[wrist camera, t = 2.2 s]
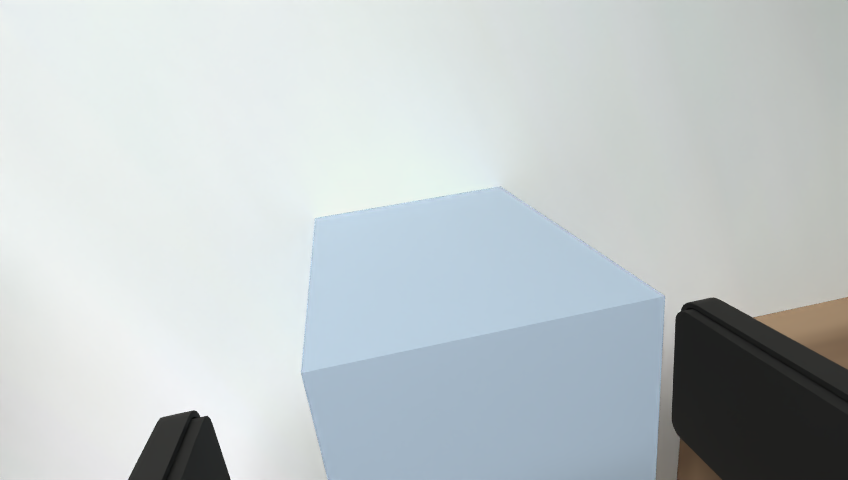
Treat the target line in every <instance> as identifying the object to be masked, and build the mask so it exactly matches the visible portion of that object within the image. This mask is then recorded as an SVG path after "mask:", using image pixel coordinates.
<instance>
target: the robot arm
mask: <svg viewBox="0 0 848 480" xmlns="http://www.w3.org/2000/svg"><path fill="white" fill-rule="evenodd" d="M672 423H673V427H674V429H675V431H676V433H677V434H678V436H679V437H680V438H681V439H682V440H683V441H684V442H685V443H686V444H687V445H688V446H689V447H690V448H691V449H692V450H693V451H694V452H695V453H696V454H697V455H698V456H699V457H700V458H701V459H702V460H703V461H704V462H705V463H706V464H707V465H708V466H709V467H710V468H711V469H712V470H713V471H714V472H715V473H716V474H717V475H718V476H719V477H720V478H721V479H722V480H848V369H846V368H844V367H842V366H840V365H839V364H837V363H835V362H833V361H831V360H829V359H828V358H826V357H824V356H822V355H820V354H818V353H817V352H815V351H813V350H811V349H809V348H807V347H806V346H804V345H802V344H800V343H798V342H796V341H795V340H793V339H791V338H789V337H787V336H785V335H784V334H782V333H780V332H778V331H776V330H774V329H773V328H771V327H769V326H767V325H765V324H763V323H762V322H760V321H758V320H756V319H754V318H752V317H750V316H749V315H747V314H745V313H743V312H741V311H739V310H738V309H736V308H734V307H732V306H730V305H728V304H727V303H725V302H723V301H721V300H719V299H717V298H707V299H703V300H698V301H693V302H689V303H686V304H685V305H683V307H682V309H681V312H679V313H678V314H677V316H676V323H675V348H674V373H673V397H672ZM128 480H231V479H230V476H229V473H228V470H227V467H226V464H225V461H224V458H223V455H222V452H221V449H220V446H219V443H218V440H217V437H216V433H215V430H214V427H213V424H212V422H211V419H210V418H209V417H208V416H204V417H200V415H199V414H198V412H197V411H194V410H193V411H189V412H184V413H180V414H175V415H170V416H166V417H162V418H160V419H159V421H158V422H157V424H156V426H155V428H154V430H153V432H152V434H151V436H150V438H149V439H148V441H147V443H146V445H145V447H144V449H143V451H142V453H141V455H140V457H139V459H138V461H137V463H136V465H135V467H134V469H133V471H132V473H131V475H130V477H129V479H128Z"/></svg>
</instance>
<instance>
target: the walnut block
mask: <svg viewBox="0 0 848 480" xmlns="http://www.w3.org/2000/svg"><path fill="white" fill-rule="evenodd" d="M754 319H756V320H758V321H760V322H762V323H763V324H765V325H767V326H769V327H771V328H773V329H774V330H776V331H778V332H780V333H782V334H784V335H785V336H787V337H789V338H791V339H793V340H795V341H796V342H798V343H800V344H802V345H804V346H806V347H807V348H809V349H811V350H813V351H815V352H817V353H818V354H820V355H822V356H824V357H826V358H828V359H829V360H831V361H833V362H835V363H837V364H839V365H840V366H842V367H844V368H846V369H848V297H846V298H842V299H837V300H833V301H828V302H823V303H819V304H814V305H809V306H805V307H800V308H795V309H791V310H786V311H781V312H777V313H772V314H767V315H763V316H758V317H754ZM677 480H722V479H721V478H720V477H719V476H718V475H717V474H716V473H715V472H714V471H713V470H712V469H711V468H710V467H709V466H708V465H707V464H706V463H705V462H704V461H703V460H702V459H701V458H700V457H699V456H698V455H697V454H696V453H695V452H694V451H693V450H692V449H691V448H690V447H689V446H688V445H687V444H686V443H685V442H684V441H683V440H682V439H681V438H680V447H679V459H678V472H677Z"/></svg>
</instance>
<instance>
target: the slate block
mask: <svg viewBox="0 0 848 480" xmlns="http://www.w3.org/2000/svg"><path fill="white" fill-rule="evenodd" d="M664 307H665V296H664V295H663V294H661V293H660V292H658V291H657V290H655V289H654V288H652V287H651V286H649V285H648V284H646V283H645V282H643V281H642V280H640V279H639V278H637V277H636V276H634V275H633V274H631V273H630V272H628V271H627V270H625V269H624V268H622V267H621V266H619V265H618V264H616V263H615V262H613V261H612V260H610V259H609V258H607V257H606V256H604V255H603V254H601V253H600V252H598V251H597V250H595V249H593V248H592V247H590V246H589V245H587V244H586V243H584V242H583V241H581V240H580V239H578V238H577V237H575V236H574V235H572V234H571V233H569V232H568V231H566V230H565V229H563V228H562V227H560V226H559V225H557V224H556V223H554V222H553V221H551V220H550V219H548V218H547V217H545V216H544V215H542V214H541V213H539V212H538V211H536V210H535V209H533V208H532V207H530V206H529V205H527V204H526V203H524V202H523V201H521V200H520V199H518V198H517V197H515V196H514V195H512V194H511V193H509V192H508V191H506V190H505V189H503V188H502V187H495V188H489V189H483V190H477V191H471V192H465V193H460V194H454V195H448V196H442V197H436V198H430V199H425V200H419V201H413V202H407V203H401V204H395V205H390V206H384V207H378V208H372V209H366V210H360V211H355V212H349V213H343V214H337V215H331V216H325V217H320V218H315V226H314V237H313V248H312V259H311V270H310V281H309V292H308V303H307V314H306V325H305V336H304V347H303V358H302V369H301V375H302V379H303V383H304V387H305V391H306V394H307V398H308V402H309V406H310V410H311V414H312V418H313V422H314V426H315V430H316V434H317V438H318V442H319V446H320V450H321V454H322V458H323V462H324V466H325V470H326V474H327V478H328V480H656V464H657V445H658V425H659V405H660V386H661V366H662V347H663V327H664Z"/></svg>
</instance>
